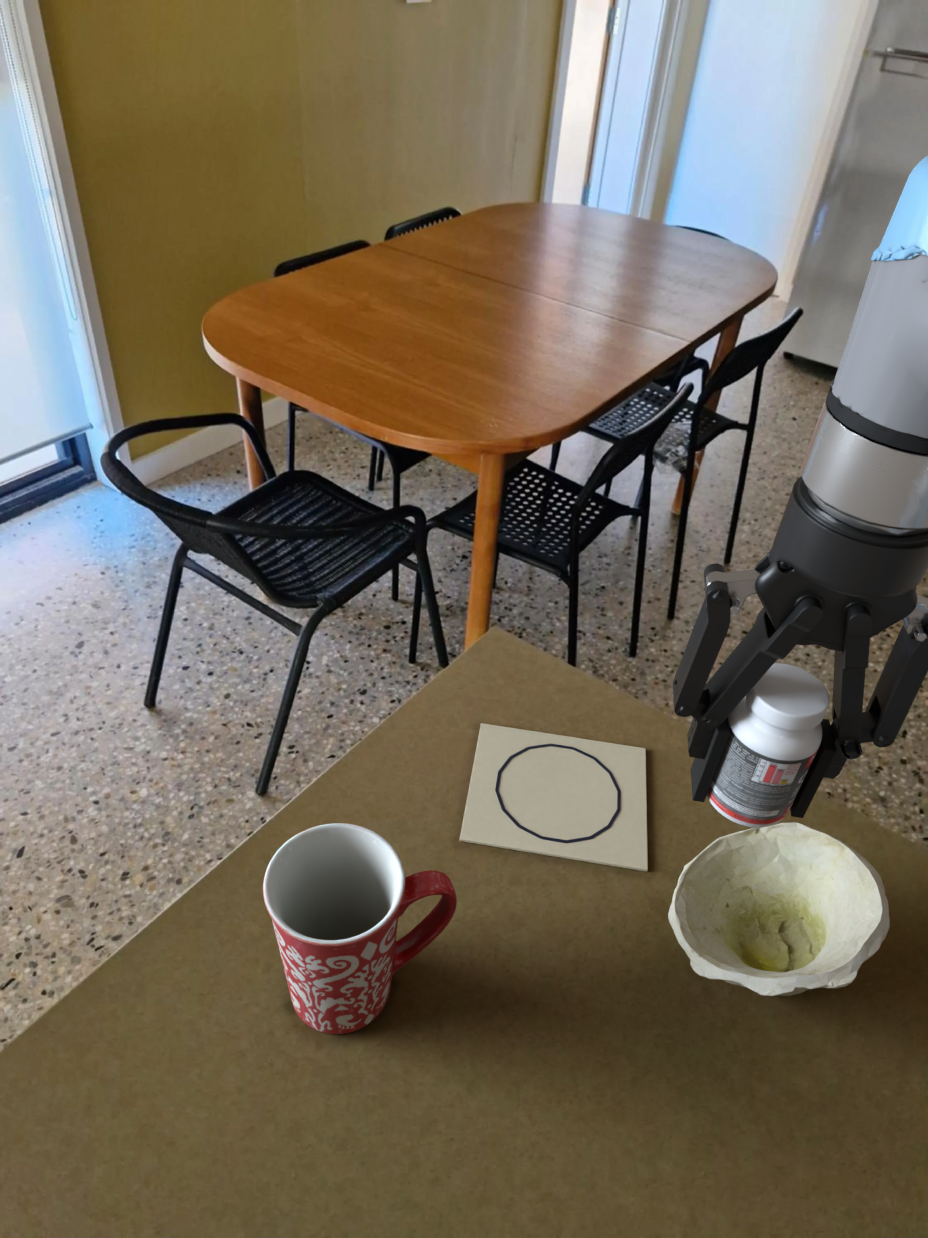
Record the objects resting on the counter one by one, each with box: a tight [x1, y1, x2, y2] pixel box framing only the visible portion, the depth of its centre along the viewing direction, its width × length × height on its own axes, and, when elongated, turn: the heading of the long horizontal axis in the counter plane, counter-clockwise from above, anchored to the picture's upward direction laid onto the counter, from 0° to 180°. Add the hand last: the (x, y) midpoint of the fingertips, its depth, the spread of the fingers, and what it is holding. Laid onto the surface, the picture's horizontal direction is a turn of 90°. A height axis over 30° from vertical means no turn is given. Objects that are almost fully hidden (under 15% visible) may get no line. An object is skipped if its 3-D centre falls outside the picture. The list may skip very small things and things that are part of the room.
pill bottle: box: [706, 662, 830, 828], centre depth 56 cm, size 6×6×10 cm
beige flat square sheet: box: [459, 722, 649, 873], centre depth 80 cm, size 14×16×1 cm
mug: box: [262, 822, 458, 1035], centre depth 61 cm, size 13×9×14 cm
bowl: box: [667, 821, 890, 997], centre depth 66 cm, size 15×14×10 cm
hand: (745, 793), depth 59 cm, fingers closed on pill bottle, 6 cm apart
